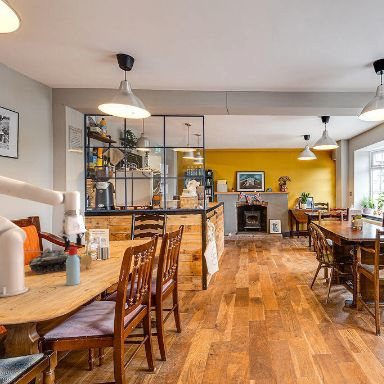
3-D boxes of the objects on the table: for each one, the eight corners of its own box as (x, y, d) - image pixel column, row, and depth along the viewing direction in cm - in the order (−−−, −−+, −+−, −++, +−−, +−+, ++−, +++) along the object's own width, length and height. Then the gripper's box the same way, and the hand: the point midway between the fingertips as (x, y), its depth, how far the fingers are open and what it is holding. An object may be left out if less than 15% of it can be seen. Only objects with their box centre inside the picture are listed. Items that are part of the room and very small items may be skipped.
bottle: (71, 286, 153) (70, 249, 152) (63, 284, 155) (63, 249, 155) (82, 282, 159) (82, 247, 158) (75, 281, 161) (74, 246, 161)
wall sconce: (94, 270, 182) (94, 231, 181) (77, 272, 179) (77, 232, 178) (99, 265, 195) (98, 228, 195) (83, 266, 192) (82, 229, 191)
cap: (71, 255, 154) (71, 248, 154) (66, 254, 156) (66, 248, 156) (78, 253, 158) (78, 247, 158) (73, 253, 159) (73, 246, 159)
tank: (24, 271, 180) (24, 248, 180) (80, 263, 201) (79, 242, 201) (25, 277, 168) (25, 252, 168) (85, 267, 189) (84, 245, 189)
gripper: (60, 215, 147) (61, 249, 147) (91, 212, 163) (92, 243, 163) (51, 214, 150) (52, 248, 150) (82, 211, 166) (83, 242, 166)
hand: (73, 245), depth 157 cm, fingers open, 5 cm apart
